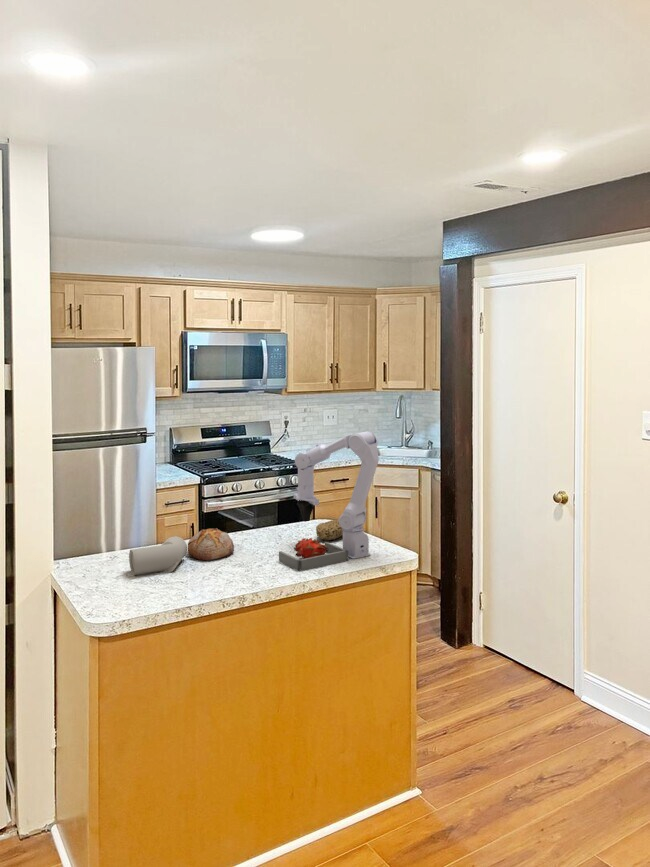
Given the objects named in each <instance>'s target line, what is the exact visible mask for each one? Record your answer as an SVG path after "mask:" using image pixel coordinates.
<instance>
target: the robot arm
mask: <svg viewBox="0 0 650 867" xmlns="http://www.w3.org/2000/svg"><path fill="white" fill-rule="evenodd" d="M378 444H379V440H378V438H377V436H376V435H375V433H374V432H372V431H370V430H365V431H362V432H358V433H357V432H356V433H354V432H353V433H352V434H349V435H345V436H343V437H341V438H339V439H337V440H335V441H333V442H331V443H329V444H327V445H326V444H325V443H317V444H315V447H313V448H311V449H310V448H307V449H306V450H305V452H299V453H298V454H297V455H296V456H294V457H295V458H294V464H295V467H297V490H298V491H297V492H296V493H293V499H295V500H296V501H297V500H298V501H297V502H296V506H297V507H298V509H299V512H300V514H301V518H302V521H303V522H304V523H305V522H306V523H307V522H310V521H311V520H310V519H311V515H312V512H313V510H314V508H315V506H320V499H318V498H317V497H316V496H315V491H314V490H315V486H314V484H315V483H314V478H315V477H314V470H315V465H318V464H320V463H322V462H324V461H326V460H328V459H330V457H331V454H333V453H336V452H337V451H340V450H342V449H345V448H346V449H347V450H348V449H350V450H351V451H352V452H353V453H354V454H355V455H356V456H357V457H358V458H359V459H360V462H361V464H360V468H359V471H358V474H357V478H356V481H355V484H354V487H353V491H352V494H351V496H350V500H349V503H348V504H347V505H346V506H345V507H344V510H343V512H342V513H341V515H339V518H338V519H339V525H340V527H341V528H342V531H343V535H342V548H343V549H345V550H348V558H350V559H354V560H355V559H358V558H364V557H366V556H367V557H368V556H371V555H372V554H371V553H370V552H369V551H370V550H369V546H370V545H369V542H370V541H369V536H368V535H367V533H365V531H364V524H365V523H366V522H367V511H368V510H367V507H366V506H365V505H366V503H367V499H368V495H369V492H370V490H371V487H372V482H373V480H374V477H375V474H376V470H377V467H378V465H379V461H380V458H379V450H378V449H379V448H378Z"/></svg>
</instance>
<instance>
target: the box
mask: <svg viewBox="0 0 650 867" xmlns="http://www.w3.org/2000/svg"><path fill="white" fill-rule="evenodd" d="M324 545H325V546H326V547H327V548H328V549H327V550H329V551H327V552H326V553H325V555H320V556H315V557H310V558H305V559H303V558H301V559H299V558H298V557H295V556H292V555H290V554H288V553H286V552H285V551H282V550H279V551H278V562H279V563H281V564H283V565H285V566H288V567H290V568H292V569H293V570H296V571H298V572H302V571H306V570H311V568H312V569H316V568H319V567H326V566H329V565H334V564H337V563H338V564H339V563H343V562H349V557H348V550H345V549H343V547H340V546H337V545H335V544H333V543H330V542H329V541H328V542H327V541H326V542H325V541H324Z"/></svg>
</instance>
